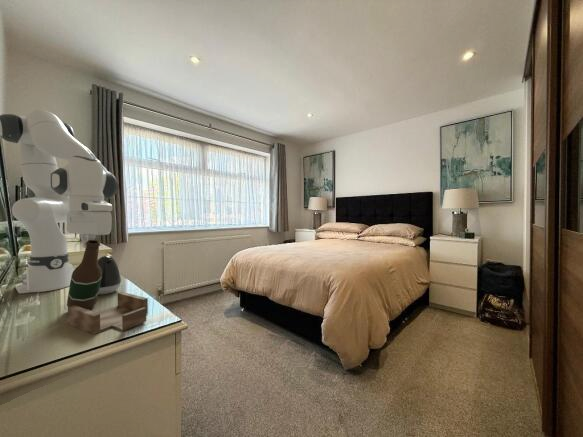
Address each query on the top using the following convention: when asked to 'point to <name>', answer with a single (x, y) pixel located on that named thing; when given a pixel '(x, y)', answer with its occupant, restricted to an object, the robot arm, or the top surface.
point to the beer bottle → (86, 279)
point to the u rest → (111, 315)
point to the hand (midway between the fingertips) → (88, 247)
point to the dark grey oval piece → (109, 275)
